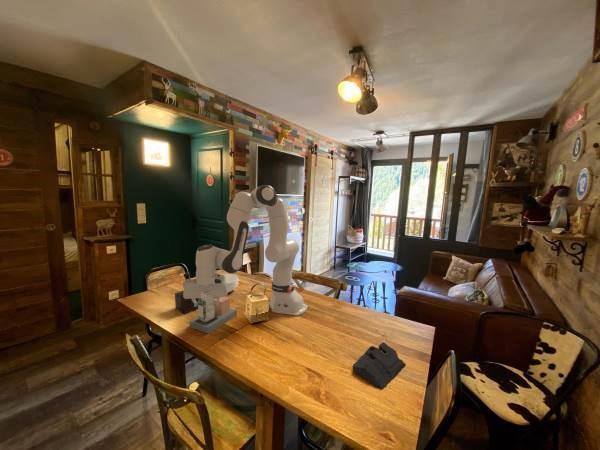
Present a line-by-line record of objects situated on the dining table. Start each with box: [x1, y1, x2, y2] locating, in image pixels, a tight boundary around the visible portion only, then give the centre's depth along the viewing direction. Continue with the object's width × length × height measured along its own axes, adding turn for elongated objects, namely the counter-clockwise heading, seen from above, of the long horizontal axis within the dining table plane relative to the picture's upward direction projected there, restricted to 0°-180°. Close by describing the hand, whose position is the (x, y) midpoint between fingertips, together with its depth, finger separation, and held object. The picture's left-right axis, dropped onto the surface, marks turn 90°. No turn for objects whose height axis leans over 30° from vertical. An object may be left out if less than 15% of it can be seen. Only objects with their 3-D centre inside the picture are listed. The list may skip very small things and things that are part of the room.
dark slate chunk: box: [351, 342, 407, 390], centre depth 96 cm, size 15×22×5 cm
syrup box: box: [197, 292, 215, 322], centre depth 120 cm, size 6×6×14 cm
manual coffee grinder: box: [174, 272, 198, 315], centre depth 138 cm, size 16×11×18 cm
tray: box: [189, 296, 238, 334], centre depth 124 cm, size 20×12×10 cm, turn 154°
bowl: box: [220, 273, 239, 293], centre depth 163 cm, size 20×20×8 cm
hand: (206, 305), depth 120 cm, fingers closed on syrup box, 8 cm apart
